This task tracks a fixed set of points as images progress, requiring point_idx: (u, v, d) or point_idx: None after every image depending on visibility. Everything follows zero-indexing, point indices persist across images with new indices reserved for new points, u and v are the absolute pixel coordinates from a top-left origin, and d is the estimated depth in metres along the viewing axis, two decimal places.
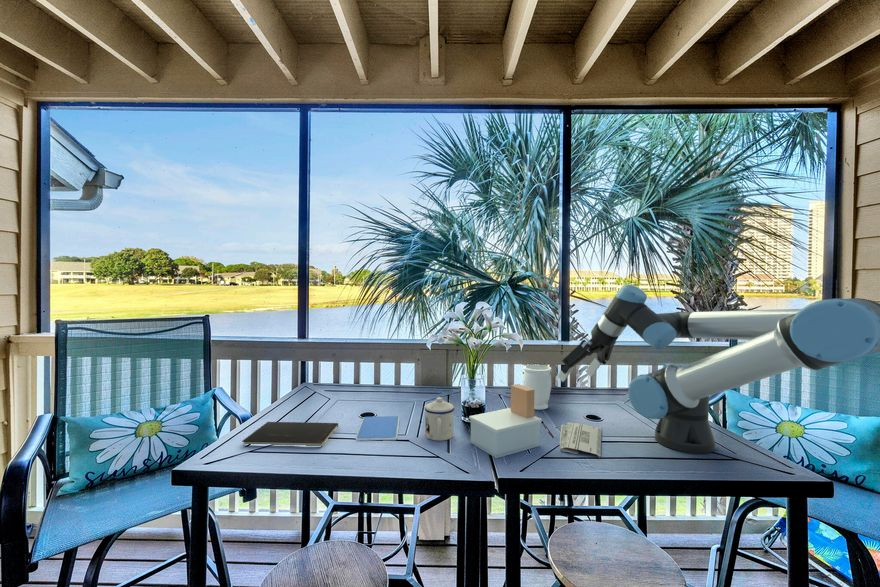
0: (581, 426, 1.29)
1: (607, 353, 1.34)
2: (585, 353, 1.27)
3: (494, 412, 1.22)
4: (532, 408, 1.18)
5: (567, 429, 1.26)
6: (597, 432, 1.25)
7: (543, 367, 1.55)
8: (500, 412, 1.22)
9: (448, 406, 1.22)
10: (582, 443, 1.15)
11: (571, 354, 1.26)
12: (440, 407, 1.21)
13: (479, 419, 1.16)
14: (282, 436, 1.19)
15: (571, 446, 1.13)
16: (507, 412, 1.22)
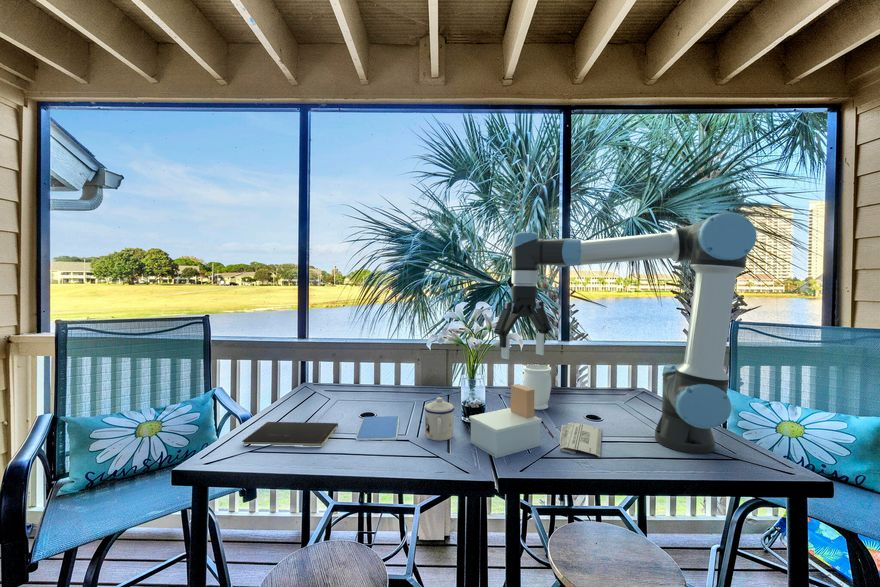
0: (581, 426, 1.28)
1: (543, 320, 1.23)
2: (514, 316, 1.17)
3: (494, 412, 1.22)
4: (532, 408, 1.18)
5: (567, 429, 1.26)
6: (597, 432, 1.25)
7: (543, 367, 1.55)
8: (500, 412, 1.22)
9: (448, 406, 1.22)
10: (582, 443, 1.15)
11: (499, 321, 1.16)
12: (440, 407, 1.21)
13: (479, 419, 1.16)
14: (282, 436, 1.19)
15: (571, 446, 1.13)
16: (507, 412, 1.22)
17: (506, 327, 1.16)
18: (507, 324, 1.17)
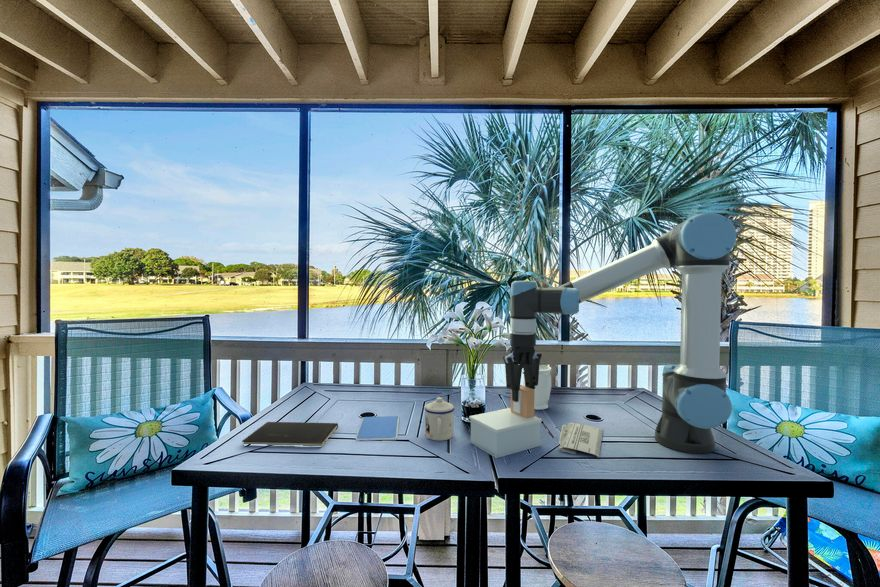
0: (582, 426, 1.28)
1: (535, 372, 1.22)
2: (518, 368, 1.18)
3: (494, 412, 1.22)
4: (532, 408, 1.18)
5: (567, 429, 1.26)
6: (598, 433, 1.24)
7: (543, 367, 1.55)
8: (500, 412, 1.22)
9: (448, 406, 1.22)
10: (581, 443, 1.15)
11: (507, 376, 1.18)
12: (440, 407, 1.21)
13: (479, 419, 1.16)
14: (282, 436, 1.18)
15: (570, 446, 1.13)
16: (507, 412, 1.22)
17: (515, 382, 1.18)
18: (515, 378, 1.19)
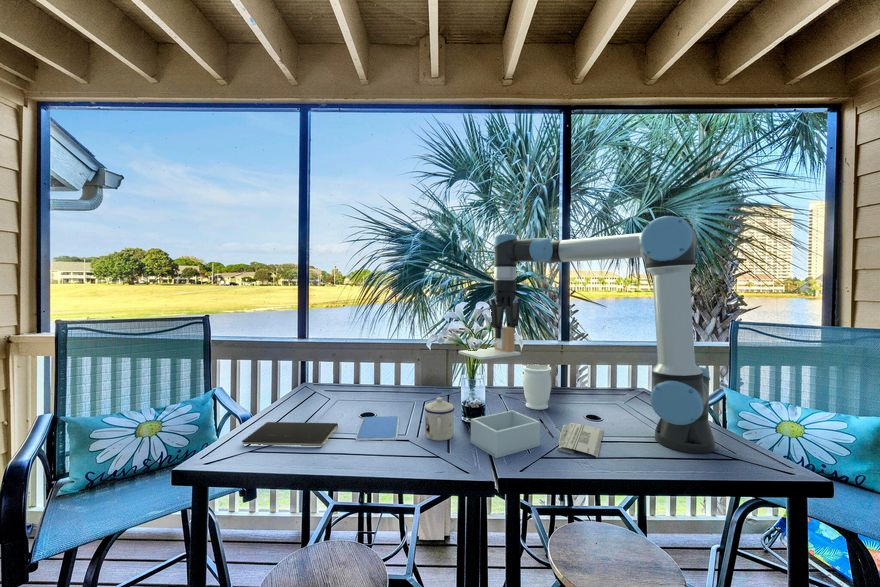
0: (583, 427, 1.28)
1: (515, 314, 1.40)
2: (500, 310, 1.37)
3: (480, 349, 1.41)
4: (512, 344, 1.37)
5: (568, 429, 1.26)
6: (598, 433, 1.24)
7: (543, 367, 1.55)
8: (485, 349, 1.41)
9: (448, 406, 1.22)
10: (581, 444, 1.15)
11: None
12: (440, 407, 1.21)
13: (467, 352, 1.35)
14: (282, 436, 1.18)
15: (569, 446, 1.13)
16: (491, 349, 1.41)
17: (498, 321, 1.37)
18: (498, 318, 1.37)
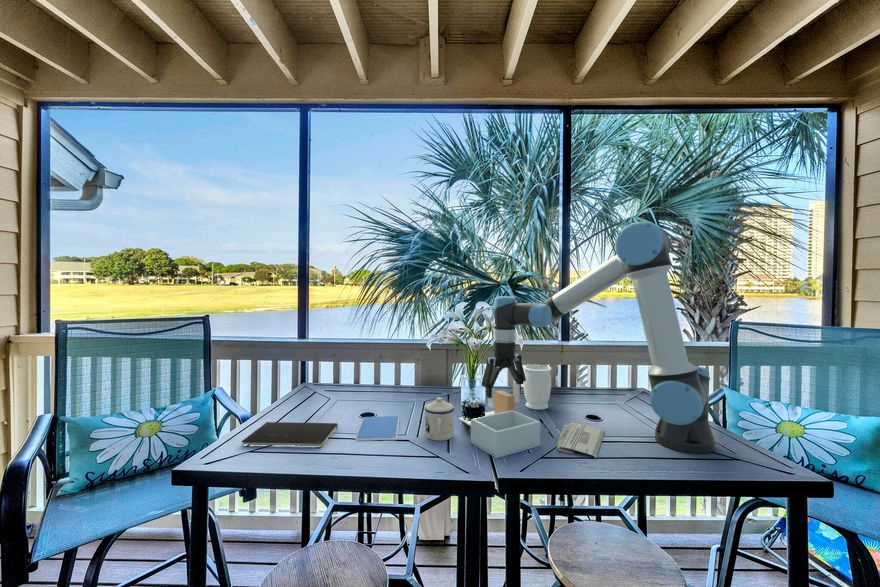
0: (583, 427, 1.28)
1: (520, 371, 1.43)
2: (496, 370, 1.37)
3: None
4: None
5: (568, 429, 1.26)
6: (599, 433, 1.24)
7: (543, 367, 1.55)
8: (485, 414, 1.42)
9: (448, 406, 1.22)
10: (580, 444, 1.15)
11: (484, 375, 1.36)
12: (440, 407, 1.21)
13: None
14: (281, 436, 1.18)
15: (568, 446, 1.13)
16: (491, 414, 1.42)
17: (491, 380, 1.36)
18: (491, 377, 1.37)
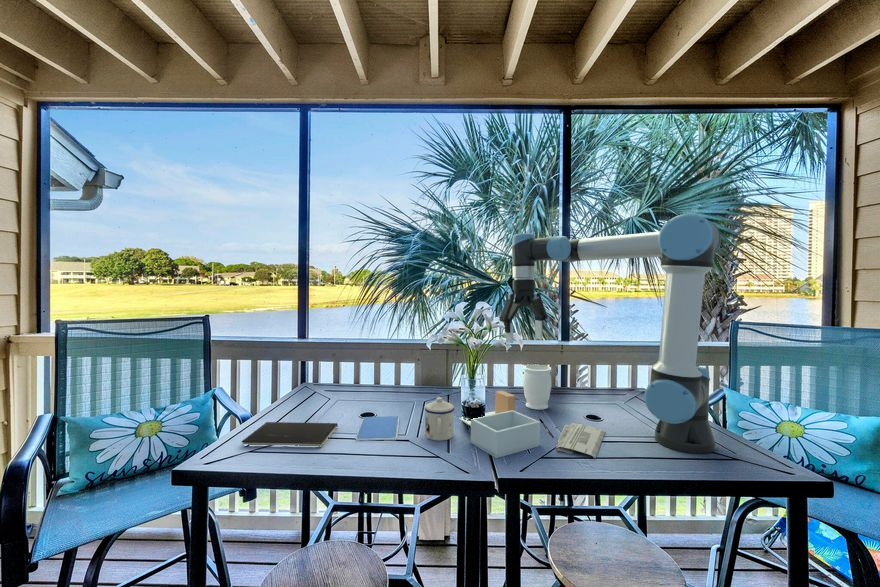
0: (584, 427, 1.28)
1: (541, 309, 1.42)
2: (516, 306, 1.36)
3: None
4: None
5: (568, 429, 1.26)
6: (599, 434, 1.24)
7: (543, 367, 1.55)
8: (486, 415, 1.41)
9: (448, 406, 1.22)
10: (579, 444, 1.15)
11: (503, 310, 1.35)
12: (440, 407, 1.21)
13: None
14: (281, 436, 1.18)
15: (567, 446, 1.13)
16: None
17: (510, 315, 1.35)
18: (510, 313, 1.35)
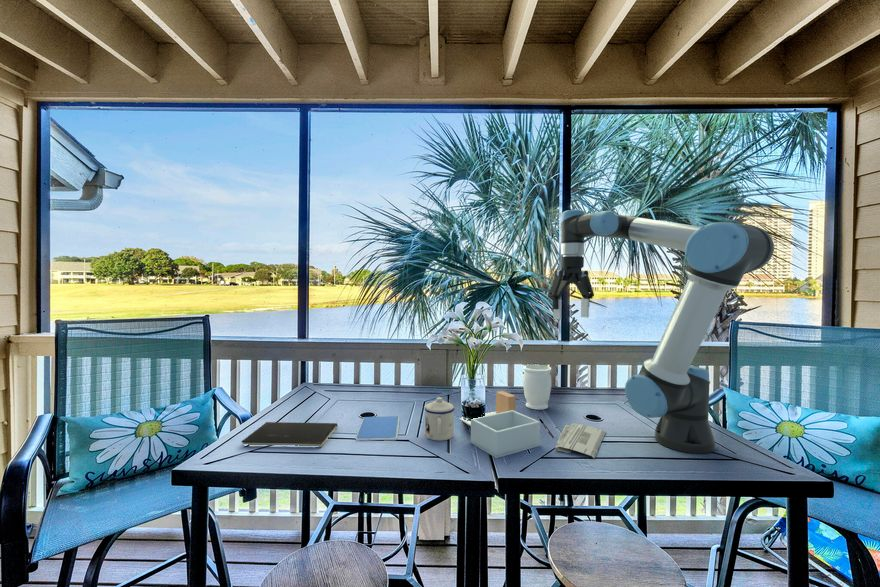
0: (584, 427, 1.28)
1: (588, 287, 1.42)
2: (564, 283, 1.35)
3: None
4: None
5: (569, 429, 1.26)
6: (599, 434, 1.23)
7: (543, 367, 1.55)
8: (486, 415, 1.41)
9: (448, 406, 1.22)
10: (579, 444, 1.15)
11: (552, 286, 1.34)
12: (440, 407, 1.21)
13: None
14: (281, 436, 1.18)
15: (566, 446, 1.13)
16: None
17: (558, 292, 1.35)
18: (559, 289, 1.35)
